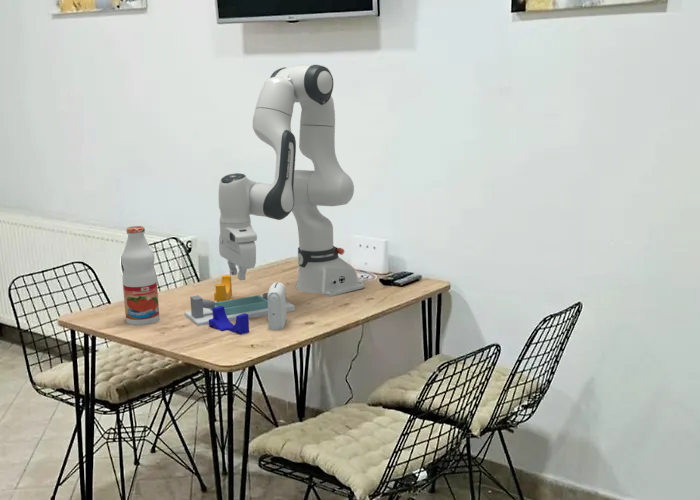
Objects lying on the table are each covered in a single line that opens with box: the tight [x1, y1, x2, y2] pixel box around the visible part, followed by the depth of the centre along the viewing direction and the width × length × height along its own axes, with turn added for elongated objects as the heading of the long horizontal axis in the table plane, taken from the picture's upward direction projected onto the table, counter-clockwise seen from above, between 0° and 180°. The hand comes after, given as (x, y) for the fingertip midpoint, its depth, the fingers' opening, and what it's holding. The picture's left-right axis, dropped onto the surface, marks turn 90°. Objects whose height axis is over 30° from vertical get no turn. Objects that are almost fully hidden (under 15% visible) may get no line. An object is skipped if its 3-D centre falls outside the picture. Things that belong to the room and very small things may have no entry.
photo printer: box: [267, 281, 287, 331], centre depth 235 cm, size 10×4×12 cm, turn 177°
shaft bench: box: [183, 292, 296, 327], centre depth 247 cm, size 30×12×7 cm, turn 119°
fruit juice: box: [120, 225, 160, 326], centre depth 238 cm, size 9×9×28 cm
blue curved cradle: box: [208, 306, 250, 335], centre depth 232 cm, size 12×4×6 cm, turn 46°
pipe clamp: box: [213, 274, 233, 302], centre depth 261 cm, size 12×4×6 cm, turn 178°
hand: (237, 277), depth 245 cm, fingers open, 5 cm apart
